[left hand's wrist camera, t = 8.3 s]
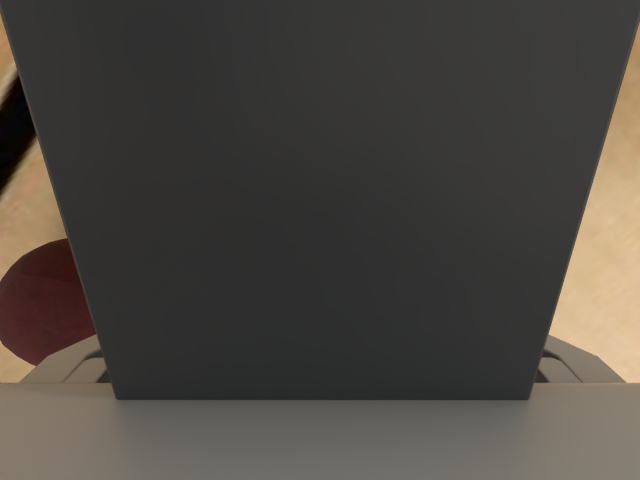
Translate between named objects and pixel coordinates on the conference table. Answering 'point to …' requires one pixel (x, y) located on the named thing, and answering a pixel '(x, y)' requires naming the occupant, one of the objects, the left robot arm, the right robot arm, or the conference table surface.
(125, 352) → the box
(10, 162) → the conference table surface
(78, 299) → the potato
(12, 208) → the conference table surface
